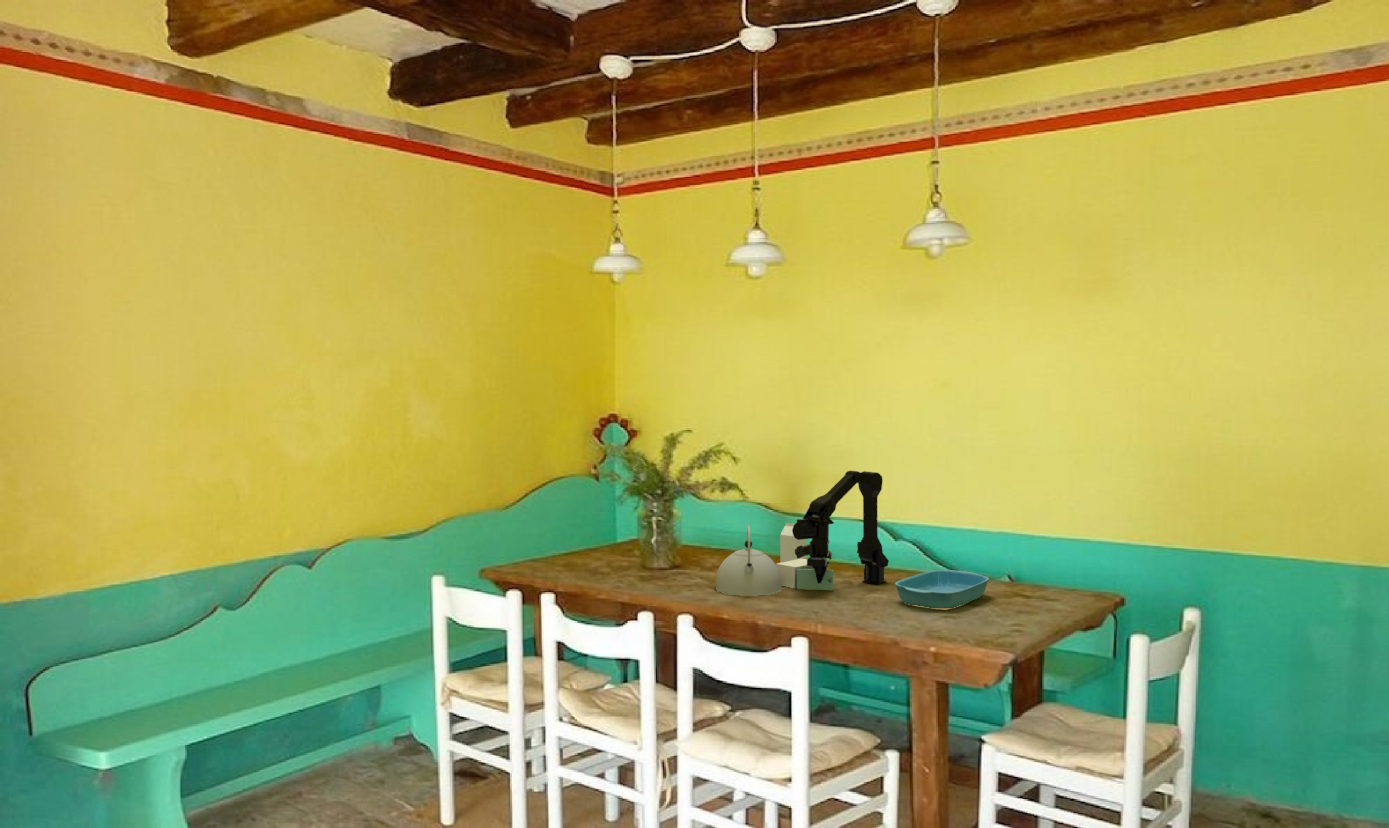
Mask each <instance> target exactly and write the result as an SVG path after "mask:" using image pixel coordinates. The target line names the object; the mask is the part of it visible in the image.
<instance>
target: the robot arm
mask: <svg viewBox="0 0 1389 828" xmlns="http://www.w3.org/2000/svg"><path fill="white" fill-rule="evenodd" d="M856 484H858V489H859V492H860V494H861V495H862V498H863V499H862V501H863V502H862V504H863V505H862V506H863V507H862V509H863V510H862V511H863V512H862V514H863V515H862V517H863V518H862V521H863V523H862V524H863V527H862V528H863V531H862V533H863V536H862V538H861V540H860V541H858V542H857V544H856V546H857V552H856V553H857V554H858V558H859V559H860V563H861V564H860V565H864V568H863V580H861V582H862V583H864V582H865V583H866V584H871V585H880V584H885V583H887V582H888V581H887V580H885V568H886V567H888V565H889V562H890V561H889V559H888V558H887V556H886V555H885V554H884V553H883V552H884V551H883V545H882V542H881V541H880V539H879V537H878V496H879V495H880V493H881V491H882V490H883V489H882V488H883V476H882V475H881V474H880V473H879V472H873V471H865V470H864V471H861V472H860V471H856V470H847V471H846V472H845V474H844V475H843V477H841V478H840V479H839V481H837V482H836V483H835V484H834V485H833V486H832V488H830V489H829V491H827V492H826V493H825V494H823V495H820V496H818V497H817V498H815V499H813V500H812V501H811V502H810V503H809V507H808V509H807V510H806V512H805V514H804V515H803V518H802V519H801V518H798V519H796V523H794V524H795V525H794V526H793V529H792V532H793V536H794V537H795V538H796V539H797V540H801V539H806V540H810V539H811V540H810V541H809V544H806V545H805V546H802V545H801V546H797V548H796V549H795V555H796V556H797V559H798V558H801V557H803V556H806V557H807V556H808V558H806V559H807V566H812V567H813V568H814V569H815V573H816V578H817V582H818V583H821V582H822V579H823V577H824V575H825V572H826V570H828V567H829V565H830V562H829V561H830V560H832V559H833V553H832V551H831V550H829V544H830V540H829V534H830V532H829V531H830V530H829V529H830V527H829V526H830V525H833V524H834V523H835V522H834V521H833V520H832V519H831V517H832V515H833V514H834V512H835V511H836V509H837V504H838V503H839V502H840V501H841V500H842V499H843V498H844V497H845V496H846V495H847V494H848V493H849V492H850V491H851V490H852V489H853V487H855V486H856ZM828 559H829V561H828ZM865 583H864V584H865Z"/></svg>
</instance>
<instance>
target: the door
mask: <svg viewBox="0 0 1389 828" xmlns="http://www.w3.org/2000/svg"><path fill="white" fill-rule="evenodd" d="M834 571H835V570H833V569H827V570H826V572H825V575H824V577H823V579H822V582H821V583H818V582H817V578H816V573H815V569H797V589H796V590H799V589H800V590H818V591H819V590H821V591H823V590H824V591H834Z"/></svg>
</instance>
